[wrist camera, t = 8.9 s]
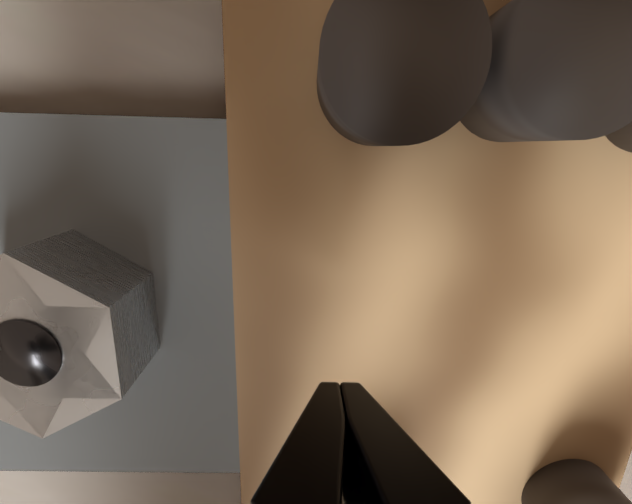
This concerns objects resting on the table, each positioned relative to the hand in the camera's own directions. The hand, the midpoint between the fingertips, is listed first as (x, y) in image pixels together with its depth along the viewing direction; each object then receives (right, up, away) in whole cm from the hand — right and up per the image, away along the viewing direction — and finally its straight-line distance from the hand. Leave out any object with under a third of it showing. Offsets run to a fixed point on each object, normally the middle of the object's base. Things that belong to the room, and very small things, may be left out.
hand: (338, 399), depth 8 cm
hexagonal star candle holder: (-8, +1, +4) cm, 9 cm away
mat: (-8, +1, +4) cm, 9 cm away
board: (+4, +1, +5) cm, 6 cm away
